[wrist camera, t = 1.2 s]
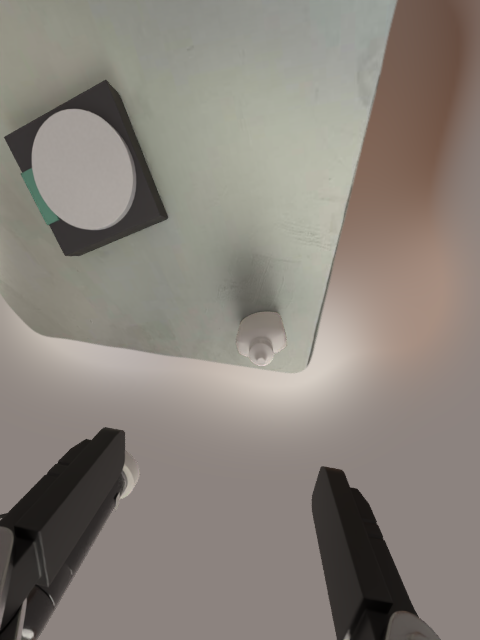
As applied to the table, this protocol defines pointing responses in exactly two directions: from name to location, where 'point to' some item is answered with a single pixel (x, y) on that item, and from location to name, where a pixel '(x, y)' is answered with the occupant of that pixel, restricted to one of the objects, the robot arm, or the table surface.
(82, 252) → the scale
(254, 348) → the eye dropper bottle
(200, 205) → the table surface
